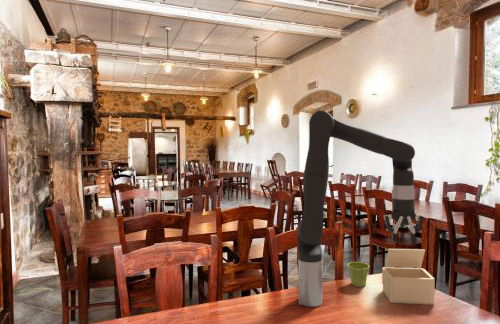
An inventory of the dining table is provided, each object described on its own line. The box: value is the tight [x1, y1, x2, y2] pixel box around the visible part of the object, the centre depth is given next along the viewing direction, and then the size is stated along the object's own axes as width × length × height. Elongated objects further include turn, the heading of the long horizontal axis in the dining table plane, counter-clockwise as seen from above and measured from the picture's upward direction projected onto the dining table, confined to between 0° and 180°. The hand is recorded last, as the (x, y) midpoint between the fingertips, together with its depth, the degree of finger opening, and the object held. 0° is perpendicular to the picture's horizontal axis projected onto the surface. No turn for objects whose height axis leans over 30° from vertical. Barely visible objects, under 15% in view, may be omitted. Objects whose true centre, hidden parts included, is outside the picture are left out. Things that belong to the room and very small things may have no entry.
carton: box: [381, 266, 436, 306], centre depth 140 cm, size 17×12×10 cm
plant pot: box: [347, 261, 370, 288], centre depth 154 cm, size 9×9×9 cm
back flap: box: [385, 248, 426, 268], centre depth 142 cm, size 14×1×10 cm
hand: (403, 242), depth 128 cm, fingers open, 5 cm apart
